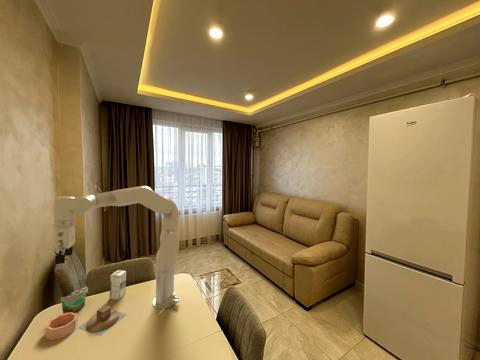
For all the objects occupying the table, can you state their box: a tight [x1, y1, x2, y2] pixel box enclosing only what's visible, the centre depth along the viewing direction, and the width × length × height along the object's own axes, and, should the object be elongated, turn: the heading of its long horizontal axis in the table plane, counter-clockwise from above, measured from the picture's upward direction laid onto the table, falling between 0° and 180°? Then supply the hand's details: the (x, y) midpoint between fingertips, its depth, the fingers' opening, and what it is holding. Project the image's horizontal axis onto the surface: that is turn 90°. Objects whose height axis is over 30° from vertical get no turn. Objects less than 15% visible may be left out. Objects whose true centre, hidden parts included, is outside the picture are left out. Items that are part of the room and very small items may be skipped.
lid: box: [86, 304, 120, 331], centre depth 94 cm, size 13×13×6 cm
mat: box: [77, 311, 128, 337], centre depth 95 cm, size 14×14×1 cm
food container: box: [59, 284, 89, 314], centre depth 102 cm, size 12×6×10 cm, turn 168°
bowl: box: [44, 312, 79, 341], centre depth 88 cm, size 10×10×5 cm
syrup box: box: [109, 269, 127, 300], centre depth 113 cm, size 6×6×14 cm
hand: (64, 259), depth 92 cm, fingers open, 9 cm apart
